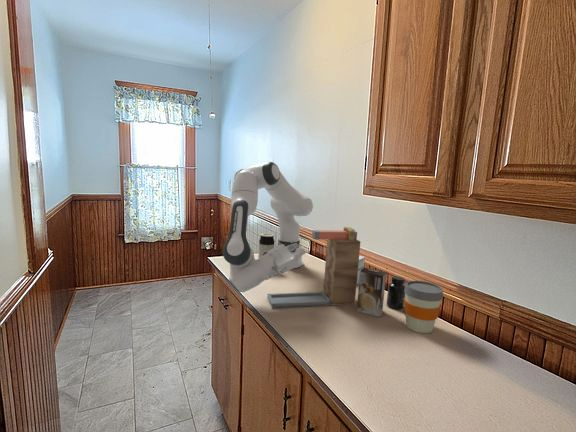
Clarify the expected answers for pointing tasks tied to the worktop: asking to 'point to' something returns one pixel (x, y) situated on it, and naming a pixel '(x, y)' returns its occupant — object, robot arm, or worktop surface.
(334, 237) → the bar
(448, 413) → the worktop surface
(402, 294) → the supplement bottle
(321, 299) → the tray
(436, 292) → the reusable coffee cup
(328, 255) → the tall wooden block
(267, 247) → the travel mug
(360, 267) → the supplement box
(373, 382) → the worktop surface
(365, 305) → the coffee box
